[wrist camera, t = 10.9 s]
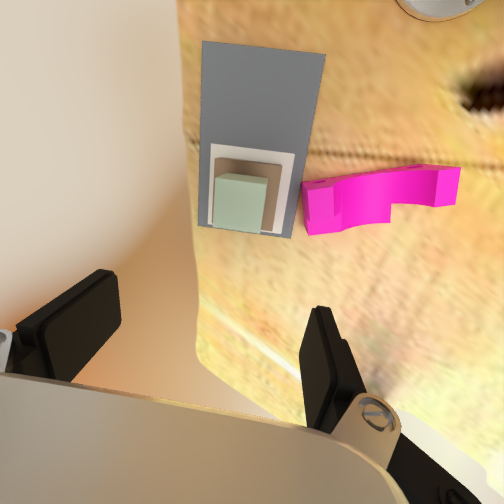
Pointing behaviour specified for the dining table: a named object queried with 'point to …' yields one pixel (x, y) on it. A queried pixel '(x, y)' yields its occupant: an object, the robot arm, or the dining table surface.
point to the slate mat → (257, 118)
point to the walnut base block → (258, 170)
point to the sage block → (239, 202)
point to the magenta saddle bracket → (374, 195)
